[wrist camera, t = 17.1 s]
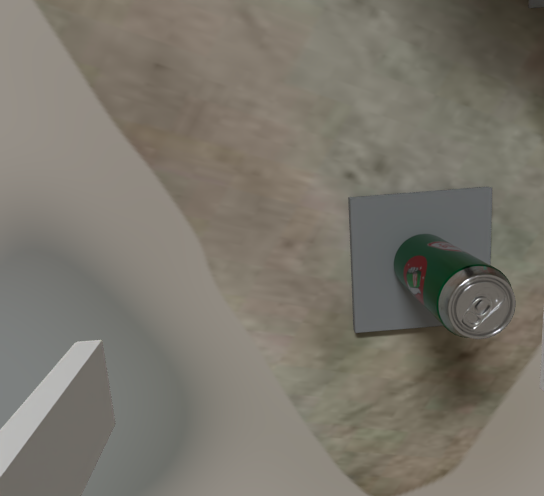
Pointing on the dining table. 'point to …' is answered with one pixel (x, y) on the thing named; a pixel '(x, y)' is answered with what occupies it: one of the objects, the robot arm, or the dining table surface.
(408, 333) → the dining table surface
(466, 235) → the grey square plate
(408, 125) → the dining table surface
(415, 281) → the soda can
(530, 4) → the slate grey block
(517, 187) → the dining table surface
